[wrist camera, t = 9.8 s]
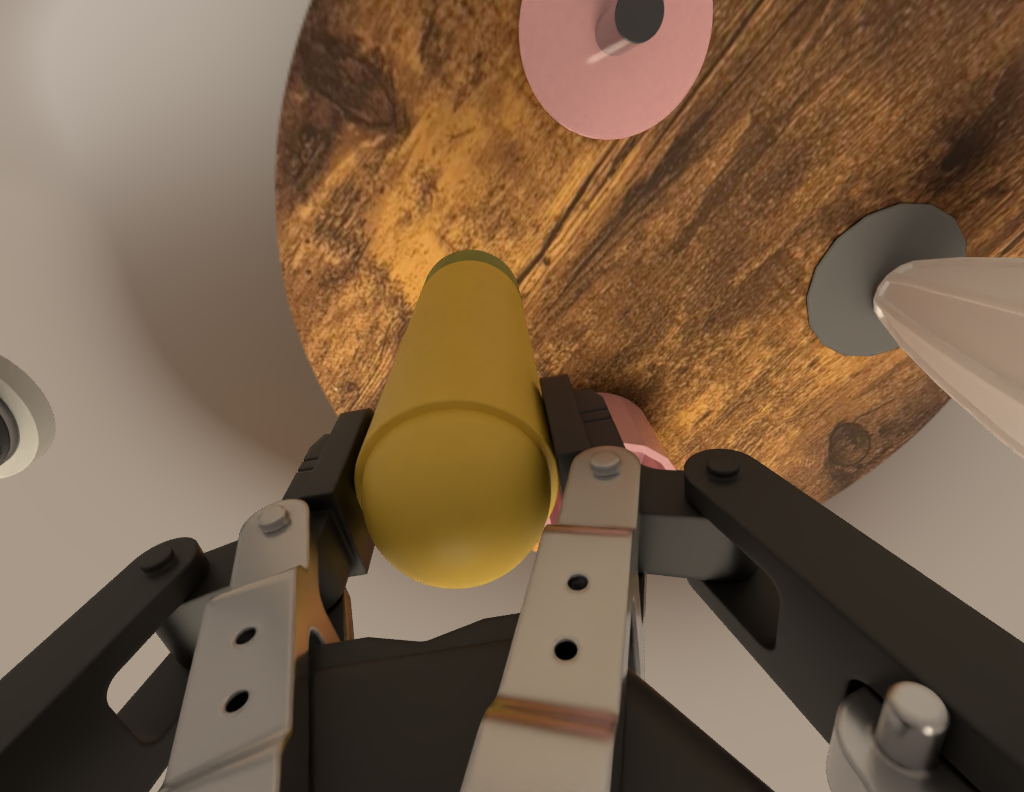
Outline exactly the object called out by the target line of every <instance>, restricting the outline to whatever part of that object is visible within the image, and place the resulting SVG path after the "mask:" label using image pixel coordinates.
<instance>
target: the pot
mask: <svg viewBox="0 0 1024 792" xmlns="http://www.w3.org/2000/svg"><path fill="white" fill-rule="evenodd" d="M597 393H598V394H600V395H601V396H603V398H604V400H605V403H606V405H607V407H608V410H609V412H610V414H611V416H612V419H613V421H614V423H615V425H616V427H617V430H618V432H619V434H620V436H621V439H622V441H623V443H624V446H625V448H626V449H628V450H630V451H631V452H633V453H634V454H635V455H636V456H637V457H638V458H639V460H640V464H642V465H645V466H647V467H651V468H655V469H662V470H677V469H676V467H675V466H674V464H673V462H672V460H671V459H670V457H669V455H668V453H667V451H666V450H665V448H664V446H663V444H662V443H661V441H660V439H659V437H658V435H657V434H656V432H655V430H654V428H653V427H652V425H651V424H650V422H649V420H648V419H647V417H646V416H645V414H644V413H643V411H642V410H641V409H640V408H639V407H638V406H637V405H635V404H634V403H632V402H631V401H630V400H628V399H626V398H624V397H621V396H618V395H615V394H610V393H601V392H597ZM561 503H562V499H561V494H560V490H559V491H558V497H557V501H556V503H555V506H554V509H553V511H552V513H551V515H550V516H549V518H548V520H547V521H546V523H545V526H546V525H547V524H556V523H557V519H558V515H559V511H560V507H561ZM545 526H544V528H545Z"/></svg>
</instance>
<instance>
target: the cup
mask: <svg viewBox="0 0 1024 792" xmlns="http://www.w3.org/2000/svg"><path fill="white" fill-rule="evenodd" d="M807 307H808V317H809V325H810V327H811V328H812V330H813V331H814V333H815V334H816V336H817V337H818V339H819V340H820V342H821V343H822V345H824V346H826V347H828V348H830V349H832V350H834V351H836V352H838V353H840V354H842V355H844V356H874V355H877V354H880V353H883V352H886V351H889V350H892V349H895V348H898V347H901V348H902V349H903V350H904V351H905V352H906V353H907V354H908V355H909V356H910V358H911V359H912V360H913V361H914V362H915V363H916V364H917V365H918V366H919V367H920V368H921V369H922V370H923V371H924V372H925V373H926V374H927V375H928V376H929V377H930V378H931V379H932V380H933V381H934V382H935V383H936V384H937V385H938V386H939V387H940V388H941V389H943V390H944V391H945V392H946V393H947V394H948V395H949V396H950V397H952V398H953V399H954V400H955V401H956V402H957V403H958V404H959V405H961V406H962V407H963V408H964V409H965V410H966V411H967V412H968V413H970V414H971V415H972V416H973V417H974V418H975V419H976V420H978V421H979V422H980V423H981V424H982V425H983V426H984V427H985V428H987V429H988V430H989V431H990V432H991V433H992V434H993V435H995V436H996V437H997V438H998V439H999V440H1000V441H1001V442H1003V443H1004V444H1005V445H1007V446H1008V447H1009V448H1010V449H1012V450H1013V451H1014V452H1015V453H1017V454H1018V455H1019V456H1020V457H1022V458H1023V459H1024V258H991V257H966V241H965V239H964V237H963V235H962V233H961V231H960V228H959V226H958V224H957V222H956V220H955V218H953V217H951V216H950V215H948V214H947V213H945V212H943V211H942V210H940V209H938V208H937V207H935V206H933V205H932V204H903V203H900V204H897V205H895V206H892V207H889V208H886V209H884V210H881V211H878V212H875V213H873V214H870V215H867V216H866V217H864V218H863V219H862V220H860V221H859V222H858V223H857V224H855V225H854V226H853V227H851V228H850V229H849V230H847V231H846V232H845V233H844V234H842V235H841V236H840V237H838V238H837V239H836V240H835V242H834V243H833V245H832V246H831V247H830V249H829V250H828V252H827V253H826V254H825V256H824V257H823V259H822V260H821V261H820V263H819V264H818V266H817V267H816V269H815V272H814V276H813V279H812V282H811V285H810V289H809V292H808V295H807Z"/></svg>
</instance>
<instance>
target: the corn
mask: <svg viewBox="0 0 1024 792" xmlns="http://www.w3.org/2000/svg"><path fill="white" fill-rule="evenodd" d="M354 487H355V492H356V496H357V499H358V502H359V504H360V507H361V509H362V512H363V515H364V520H365V524H366V526H367V529H368V532H369V534H370V536H371V538H372V540H373V542H374V544H375V546H376V547H377V548H378V550H379V551H380V552H381V554H382V555H383V556H384V557H385V559H386V560H387V561H388V562H389V563H390V564H391V565H392V566H394V567H395V568H396V569H398V570H399V571H400V572H402V573H403V574H405V575H406V576H408V577H410V578H411V579H413V580H415V581H418V582H420V583H423V584H426V585H429V586H433V587H438V588H446V589H462V588H470V587H476V586H480V585H483V584H486V583H489V582H491V581H493V580H495V579H498V578H499V577H501V576H503V575H504V574H506V573H508V572H509V571H511V570H512V569H513V568H514V567H516V566H517V565H518V564H519V563H520V562H521V561H522V560H523V559H524V558H525V557H526V556H527V555H528V554H529V552H530V551H531V550H532V548H533V547H534V546H535V544H536V542H537V541H538V539H539V537H540V535H541V533H542V531H543V529H544V526H545V523H546V521H547V520H548V518H549V516H550V515H551V513H552V511H553V509H554V506H555V503H556V501H557V497H558V491H559V477H558V470H557V464H556V459H555V454H554V449H553V445H552V440H551V435H550V431H549V426H548V422H547V417H546V412H545V408H544V403H543V398H542V392H541V387H540V383H539V378H538V374H537V369H536V365H535V360H534V355H533V351H532V346H531V342H530V337H529V333H528V328H527V323H526V319H525V314H524V310H523V305H522V301H521V296H520V291H519V287H518V284H517V281H516V279H515V276H514V275H513V273H512V271H511V270H510V269H509V268H508V266H507V265H506V264H505V263H504V262H503V261H501V260H500V259H498V258H497V257H495V256H493V255H491V254H489V253H486V252H483V251H478V250H463V251H458V252H455V253H452V254H450V255H448V256H446V257H444V258H443V259H441V260H440V261H439V262H438V263H437V264H436V265H435V266H434V267H433V268H432V270H431V271H430V273H429V274H428V276H427V278H426V281H425V283H424V286H423V289H422V291H421V294H420V296H419V299H418V302H417V304H416V307H415V309H414V312H413V315H412V317H411V320H410V322H409V325H408V328H407V330H406V333H405V335H404V338H403V341H402V343H401V346H400V348H399V351H398V354H397V356H396V359H395V361H394V364H393V367H392V369H391V372H390V374H389V377H388V380H387V382H386V385H385V387H384V390H383V393H382V395H381V398H380V400H379V403H378V406H377V408H376V411H375V413H374V416H373V419H372V421H371V424H370V426H369V429H368V432H367V434H366V437H365V440H364V442H363V445H362V447H361V450H360V453H359V455H358V459H357V462H356V465H355V473H354Z"/></svg>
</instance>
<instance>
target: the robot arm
mask: <svg viewBox="0 0 1024 792" xmlns="http://www.w3.org/2000/svg"><path fill="white" fill-rule="evenodd" d="M540 385H541V392H542V398H543V403H544V408H545V412H546V417H547V422H548V426H549V431H550V435H551V440H552V445H553V449H554V454H555V459H556V464H557V470H558V477H559V490H560V494H561V499H562V503H561V507H560V511H559V515H558V519H557V523H556V524H547V525H546V526H545V528H544V530H543V533H542V536H541V540H540V543H539V547H538V551H537V554H536V558H535V562H534V565H533V569H532V573H531V576H530V580H529V584H528V587H527V590H526V594H525V597H524V601H523V605H522V608H521V612H520V613H517V614H511V615H506V616H498V617H492V618H486V619H482V620H480V621H477V622H474V623H472V624H470V625H467V626H464V627H462V628H459V629H457V630H454V631H451V632H449V633H446V634H444V635H441V636H439V637H436V638H433V639H431V640H428V641H423V642H417V641H406V640H394V639H382V638H372V637H366V638H360V639H354V632H353V620H352V610H351V600H350V596H349V594H348V591H347V590H346V587H345V586H346V583H347V580H348V577H351V576H357V575H363V574H367V572H368V569H369V565H370V561H371V557H372V553H373V550H374V546H375V544H374V542H373V540H372V538H371V536H370V534H369V532H368V529H367V526H366V524H365V520H364V515H363V512H362V509H361V507H360V504H359V502H358V499H357V496H356V492H355V487H354V473H355V465H356V462H357V459H358V455H359V453H360V450H361V447H362V445H363V442H364V440H365V437H366V434H367V432H368V429H369V426H370V424H371V421H372V419H373V416H374V412H373V411H372V409H370V408H368V409H362V410H357V411H351V412H345V413H341V414H340V416H339V418H338V420H337V422H336V424H335V426H334V428H333V430H332V432H331V434H325V435H323V436H322V437H321V438H320V439H319V440H318V441H317V442H316V443H315V444H314V445H312V446H311V448H310V449H309V451H308V453H307V455H306V456H305V458H304V462H302V464H301V466H300V468H299V469H298V471H299V472H298V473H296V475H295V477H294V479H293V480H292V482H291V484H290V486H289V488H288V490H287V492H286V493H285V495H284V497H283V499H282V501H278V502H275V503H273V504H270V505H268V506H266V507H264V508H262V509H261V510H259V511H258V512H256V513H255V514H253V515H252V516H251V517H250V518H249V519H248V520H247V521H246V522H245V524H244V525H243V526H242V528H241V530H240V533H239V539H238V540H237V541H235V542H232V543H230V544H227V545H224V546H222V547H219V548H216V549H214V550H211V551H209V552H206V553H203V551H202V549H201V548H200V546H199V544H198V543H197V541H196V540H194V539H192V538H188V537H182V538H176V539H172V540H169V541H166V542H163V543H161V544H159V545H157V546H155V547H153V548H151V549H149V550H148V551H146V552H144V553H143V554H142V555H140V556H139V557H137V558H136V559H135V560H134V561H133V562H132V563H130V564H129V565H128V566H127V567H126V568H125V569H124V570H123V571H122V572H120V573H119V574H118V575H117V576H116V577H115V578H114V579H113V580H111V581H110V582H109V583H108V584H107V585H106V586H105V587H104V588H102V589H101V590H100V591H99V592H98V593H97V594H96V595H95V596H94V597H92V598H91V599H90V600H89V601H88V602H87V603H86V604H85V605H83V606H82V607H81V608H80V609H79V610H78V611H77V612H76V613H75V614H73V615H72V616H71V617H70V618H69V619H68V620H67V621H66V622H64V623H63V624H62V625H61V626H60V627H59V628H58V629H57V630H56V631H54V632H53V633H52V634H51V635H50V636H49V637H48V638H47V639H46V640H44V641H43V642H42V643H41V644H40V645H39V646H38V647H36V649H34V650H33V651H32V652H31V653H30V654H29V655H28V656H26V657H25V658H24V659H23V660H22V661H21V662H20V663H19V664H17V665H16V666H15V667H14V668H13V669H12V670H11V671H10V672H9V673H7V674H6V675H5V676H4V677H3V678H2V679H1V680H0V792H149V791H150V789H151V788H152V787H153V785H154V784H155V782H156V781H157V780H158V778H159V777H160V776H161V774H162V773H163V771H164V769H166V767H167V766H168V768H167V772H166V776H165V780H164V782H163V784H162V786H161V788H160V789H159V791H158V792H774V791H773V790H772V789H771V788H770V787H768V786H767V785H766V784H765V783H764V782H763V781H761V780H760V779H759V778H758V777H757V776H756V775H754V774H753V773H752V772H751V771H750V770H748V769H747V768H746V767H745V766H744V765H743V764H741V763H740V762H739V761H738V760H737V759H735V758H734V757H733V756H732V755H731V754H729V753H728V752H727V751H726V750H725V749H724V748H723V747H721V746H720V745H719V744H718V743H716V741H714V740H713V739H712V738H711V737H710V736H708V735H707V734H706V733H705V732H704V731H703V730H701V729H700V728H699V727H698V726H697V725H696V724H694V723H693V722H692V721H691V720H690V719H688V718H687V717H686V716H685V715H684V714H683V713H681V712H680V711H679V710H678V709H677V708H675V707H674V706H673V705H672V704H671V703H670V702H668V701H667V700H666V699H665V698H664V697H662V696H661V695H660V694H659V693H658V692H657V691H655V690H654V689H653V688H652V687H651V686H650V685H648V684H647V683H646V682H645V654H644V638H645V609H646V581H647V579H646V578H647V574H654V575H663V576H672V577H682V578H687V580H688V582H689V584H690V585H691V586H692V588H693V589H694V590H695V591H696V593H697V594H698V595H699V596H700V597H701V598H702V599H703V600H704V601H705V603H706V604H707V605H708V606H709V607H710V608H711V610H713V612H714V613H715V614H716V615H717V617H718V618H719V619H720V620H721V621H722V622H723V623H724V625H726V627H727V628H728V629H729V630H730V631H731V632H732V634H733V635H734V636H735V637H736V638H737V639H738V640H739V642H740V643H741V644H742V645H743V646H744V647H745V649H746V650H747V651H748V652H749V653H750V654H751V655H752V656H753V657H754V658H755V660H756V661H757V662H758V663H759V664H760V666H761V667H762V668H763V669H764V670H765V671H766V672H767V674H768V675H769V676H770V677H771V678H772V679H773V681H774V682H775V683H776V684H777V685H778V686H779V687H780V688H781V689H782V691H783V692H784V693H785V694H786V695H787V696H788V698H789V699H790V700H791V701H792V702H793V703H794V704H795V706H796V707H797V708H798V709H799V710H800V711H801V713H802V714H803V715H804V716H805V717H806V718H807V719H808V720H809V722H810V723H811V724H812V725H813V726H814V727H815V728H816V730H817V731H818V732H819V733H820V734H821V735H822V736H823V737H824V739H825V740H826V741H827V742H828V743H829V745H830V746H829V751H828V755H827V760H826V774H827V779H828V783H829V786H830V789H831V791H832V792H1024V643H1023V642H1021V641H1020V640H1019V639H1017V638H1016V637H1014V636H1013V635H1011V634H1010V633H1008V632H1007V631H1005V630H1004V629H1002V628H1001V627H1000V626H998V625H997V624H995V623H994V622H992V621H991V620H989V619H988V618H986V617H985V616H983V615H982V614H980V613H979V612H977V611H976V610H975V609H973V608H972V607H970V606H969V605H967V604H966V603H964V602H963V601H961V600H960V599H959V598H957V597H956V596H954V595H953V594H951V593H950V592H948V591H947V590H945V589H944V588H942V587H941V586H940V585H938V584H937V583H935V582H934V581H932V580H931V579H929V578H928V577H926V576H925V575H923V574H922V573H921V572H919V571H918V570H916V569H915V568H913V567H912V566H910V565H909V564H907V563H906V562H904V561H903V560H901V559H900V558H898V557H897V556H896V555H894V554H893V553H891V552H890V551H888V550H887V549H885V548H884V547H883V546H881V545H880V544H878V543H877V542H875V541H874V540H872V539H871V538H869V537H868V536H866V535H865V534H863V533H862V532H861V531H859V530H858V529H856V528H855V527H853V526H852V525H850V524H849V523H847V522H846V521H845V520H843V519H842V518H840V517H839V516H837V515H836V514H834V513H833V512H831V511H830V510H828V509H827V508H825V507H824V506H823V505H821V504H820V503H818V502H817V501H815V500H814V499H812V498H811V497H809V496H808V495H807V494H805V493H804V492H802V491H801V490H799V489H798V488H796V487H795V486H793V485H792V484H790V483H789V482H788V481H786V480H785V479H783V478H782V477H780V476H779V475H777V474H776V473H774V472H773V471H771V470H770V469H769V468H767V467H766V466H764V465H763V464H761V463H760V462H758V461H757V460H755V459H754V458H752V457H751V456H749V455H747V454H744V453H742V452H738V451H734V450H729V449H710V450H705V451H701V452H698V453H696V454H694V455H693V456H691V457H690V458H689V459H688V460H687V461H686V463H685V465H684V471H681V470H662V469H655V468H651V467H647V466H645V465H642V464H640V460H639V458H638V457H637V456H636V455H635V454H634V453H633V452H631V451H630V450H628V449H626V448H625V446H624V443H623V441H622V439H621V436H620V434H619V432H618V430H617V427H616V425H615V423H614V421H613V419H612V416H611V414H610V412H609V410H608V407H607V405H606V403H605V400H604V398H603V396H601V395H600V394H598V393H597V392H595V391H594V390H592V389H585V390H579V391H574V392H573V390H572V387H571V384H570V381H569V378H568V375H567V374H563V375H558V376H552V377H546V378H541V379H540ZM19 436H20V435H19V429H18V425H17V422H16V420H15V418H14V416H13V414H12V412H11V411H10V409H9V408H8V406H7V405H6V404H5V403H4V402H3V400H2V399H1V398H0V465H1V464H3V463H4V462H5V461H7V460H8V459H10V458H11V457H12V456H13V454H14V453H15V452H16V450H17V448H18V445H19ZM155 632H156V633H157V635H158V636H159V637H160V639H161V640H162V641H163V643H164V644H165V645H166V647H167V648H168V649H169V651H170V654H169V655H168V656H167V657H166V658H165V659H164V661H163V662H162V663H161V664H160V665H159V666H158V667H157V669H156V670H155V671H154V672H153V673H152V674H151V676H150V677H149V678H148V679H147V680H146V681H145V682H144V684H143V685H142V686H141V687H140V688H139V690H138V691H137V692H136V693H135V694H134V695H133V696H132V697H131V699H130V700H129V701H128V702H127V703H126V705H124V707H123V708H122V709H121V710H120V711H119V713H118V714H117V715H116V713H115V712H114V711H113V710H112V709H111V708H110V707H109V705H108V703H107V691H108V687H109V685H110V683H111V681H112V679H113V677H114V676H115V675H116V674H117V672H118V671H119V670H120V669H121V668H122V667H123V666H124V665H125V664H126V663H127V662H128V661H129V660H130V658H131V657H132V656H133V655H134V654H135V653H136V652H137V651H138V650H139V649H140V648H141V646H142V645H143V644H144V643H145V642H146V641H147V640H148V639H149V638H150V637H151V636H152V635H153V634H154V633H155Z"/></svg>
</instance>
